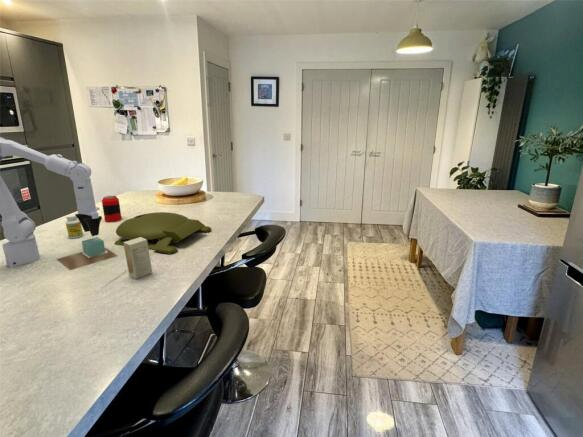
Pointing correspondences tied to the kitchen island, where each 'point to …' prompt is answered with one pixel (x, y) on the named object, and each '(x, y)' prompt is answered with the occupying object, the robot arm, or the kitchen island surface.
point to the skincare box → (137, 257)
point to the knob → (93, 246)
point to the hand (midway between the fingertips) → (91, 233)
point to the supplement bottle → (73, 226)
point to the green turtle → (159, 230)
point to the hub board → (84, 259)
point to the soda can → (111, 209)
